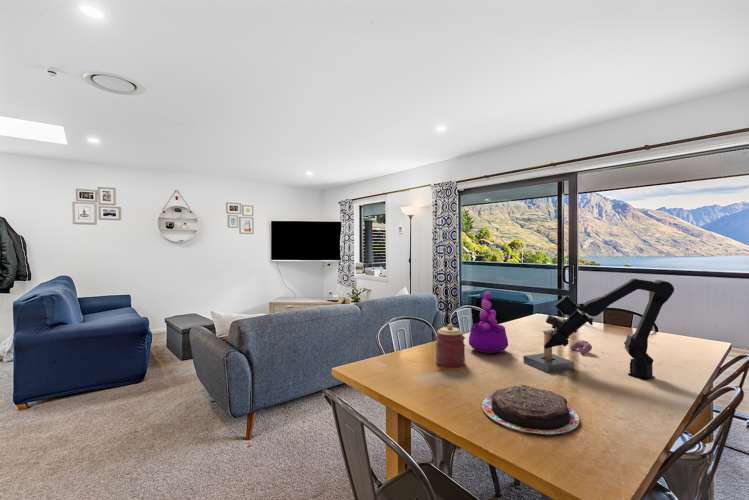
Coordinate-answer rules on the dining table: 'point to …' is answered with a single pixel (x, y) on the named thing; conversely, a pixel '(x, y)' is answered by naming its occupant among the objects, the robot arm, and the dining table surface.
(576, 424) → the chocolate cake
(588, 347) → the mauve curved piece
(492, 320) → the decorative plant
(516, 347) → the dining table surface
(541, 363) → the dark grey square base
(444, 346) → the canister
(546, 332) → the pin
